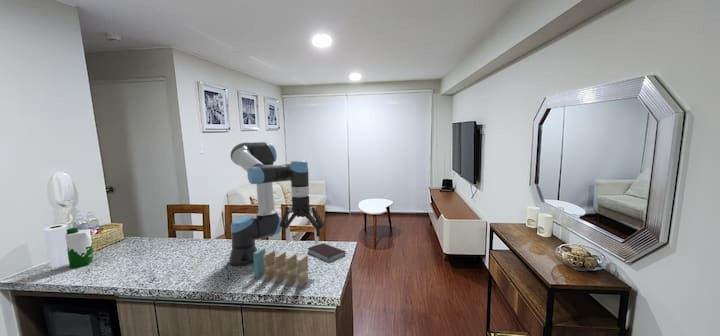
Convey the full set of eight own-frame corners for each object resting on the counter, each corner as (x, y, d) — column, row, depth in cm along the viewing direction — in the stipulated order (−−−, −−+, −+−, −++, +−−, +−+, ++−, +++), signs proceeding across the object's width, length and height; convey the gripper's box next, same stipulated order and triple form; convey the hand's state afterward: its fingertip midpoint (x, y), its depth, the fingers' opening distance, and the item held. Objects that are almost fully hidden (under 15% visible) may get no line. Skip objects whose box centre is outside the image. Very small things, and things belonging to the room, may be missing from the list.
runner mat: (248, 278, 132) (248, 277, 132) (261, 270, 141) (261, 269, 141) (305, 290, 122) (305, 289, 122) (315, 280, 130) (315, 279, 130)
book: (323, 247, 172) (323, 242, 172) (345, 255, 159) (345, 250, 159) (307, 253, 163) (307, 248, 162) (329, 263, 150) (329, 257, 149)
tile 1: (297, 285, 125) (296, 260, 124) (304, 279, 130) (303, 255, 129) (301, 286, 124) (300, 260, 123) (308, 280, 130) (307, 255, 128)
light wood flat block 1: (264, 279, 131) (263, 254, 130) (272, 273, 137) (271, 249, 135) (268, 279, 130) (267, 255, 129) (276, 274, 136) (275, 250, 135)
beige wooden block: (275, 281, 129) (274, 256, 128) (283, 275, 134) (282, 251, 133) (278, 282, 128) (277, 257, 127) (286, 276, 134) (285, 252, 133)
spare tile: (254, 277, 133) (253, 253, 132) (262, 271, 139) (261, 248, 137) (257, 277, 132) (256, 253, 131) (266, 272, 138) (265, 248, 137)
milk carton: (73, 263, 151) (68, 227, 149) (95, 259, 156) (91, 224, 154) (66, 269, 144) (62, 231, 142) (90, 265, 148) (86, 228, 146)
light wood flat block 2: (286, 283, 127) (285, 258, 126) (293, 277, 132) (292, 253, 131) (289, 284, 126) (288, 259, 125) (297, 278, 132) (296, 253, 130)
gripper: (270, 196, 122) (272, 244, 123) (324, 197, 116) (326, 247, 118) (278, 193, 129) (281, 238, 131) (330, 194, 124) (331, 241, 125)
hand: (302, 242), depth 124 cm, fingers open, 13 cm apart
